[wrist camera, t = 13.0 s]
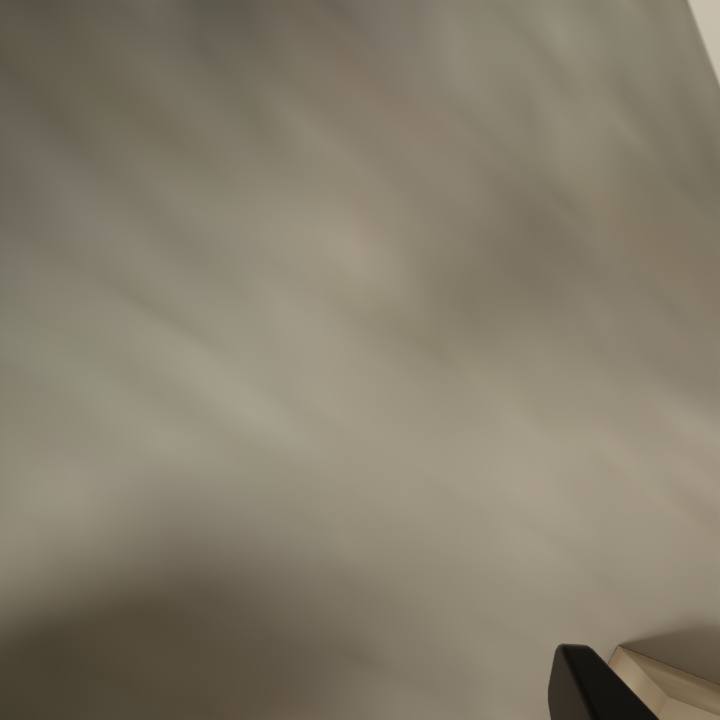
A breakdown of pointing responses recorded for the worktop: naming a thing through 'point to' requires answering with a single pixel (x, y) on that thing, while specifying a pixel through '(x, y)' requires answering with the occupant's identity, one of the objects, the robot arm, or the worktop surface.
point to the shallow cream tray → (667, 687)
